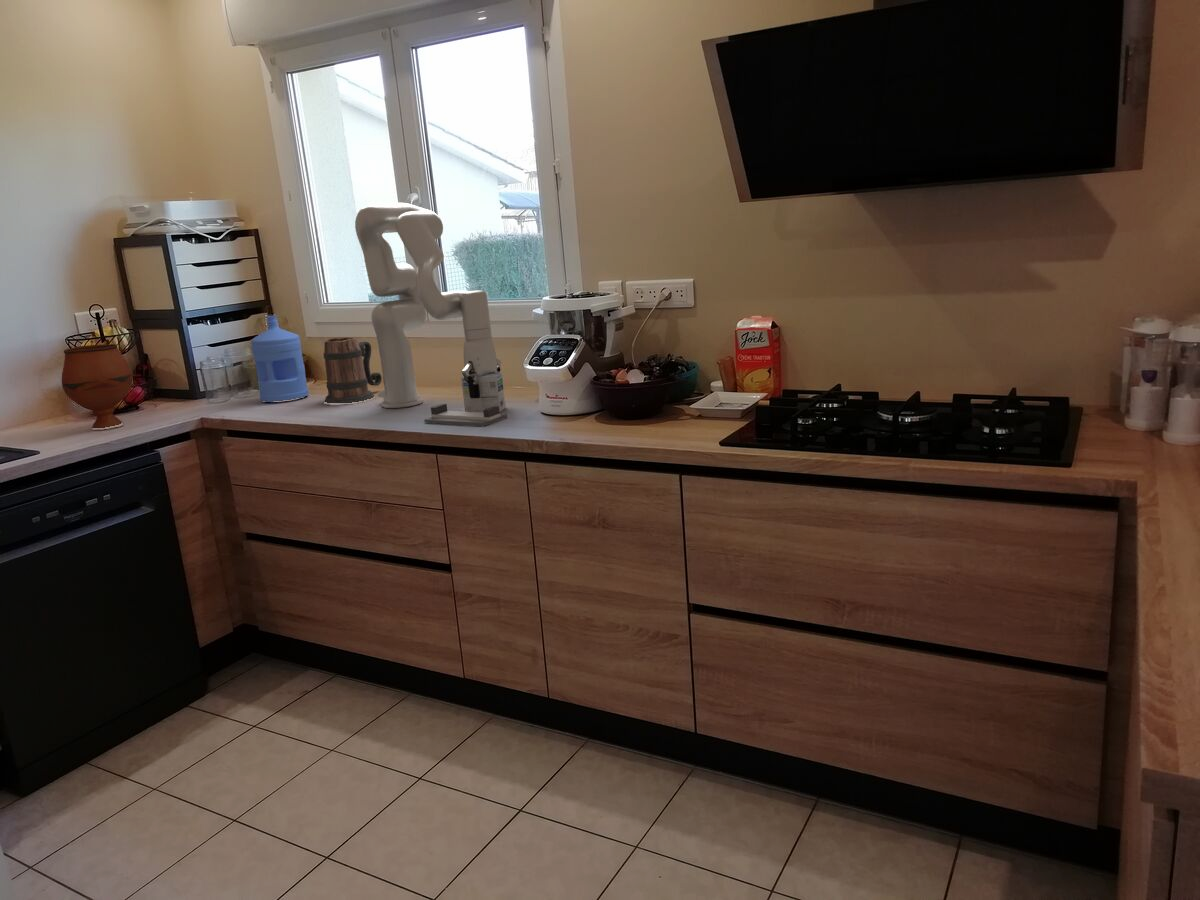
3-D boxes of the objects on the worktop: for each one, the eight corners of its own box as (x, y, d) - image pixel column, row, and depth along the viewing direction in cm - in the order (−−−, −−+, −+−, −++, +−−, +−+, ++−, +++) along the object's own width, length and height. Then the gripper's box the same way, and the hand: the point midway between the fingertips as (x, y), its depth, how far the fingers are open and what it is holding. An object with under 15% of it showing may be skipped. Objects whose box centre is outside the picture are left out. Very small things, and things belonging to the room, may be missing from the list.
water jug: (275, 395, 302) (261, 314, 295) (317, 393, 300) (304, 312, 293) (251, 404, 288) (236, 320, 281) (295, 402, 285) (282, 317, 278)
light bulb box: (506, 407, 253) (502, 371, 250) (501, 412, 246) (497, 375, 243) (470, 409, 254) (466, 372, 251) (464, 414, 247) (460, 377, 245)
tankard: (350, 406, 272) (340, 342, 267) (311, 404, 280) (301, 342, 275) (400, 391, 292) (392, 332, 287) (362, 390, 300) (354, 332, 295)
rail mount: (424, 423, 239) (423, 409, 238) (449, 414, 248) (448, 401, 247) (483, 426, 230) (482, 412, 229) (507, 417, 239) (505, 403, 238)
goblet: (104, 435, 254) (85, 351, 248) (57, 434, 261) (38, 352, 255) (157, 420, 272) (140, 341, 265) (111, 420, 278) (94, 342, 272)
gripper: (485, 331, 254) (492, 388, 258) (448, 339, 239) (456, 400, 243) (506, 330, 250) (513, 388, 254) (470, 339, 235) (477, 401, 239)
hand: (485, 394), depth 249 cm, fingers open, 9 cm apart
